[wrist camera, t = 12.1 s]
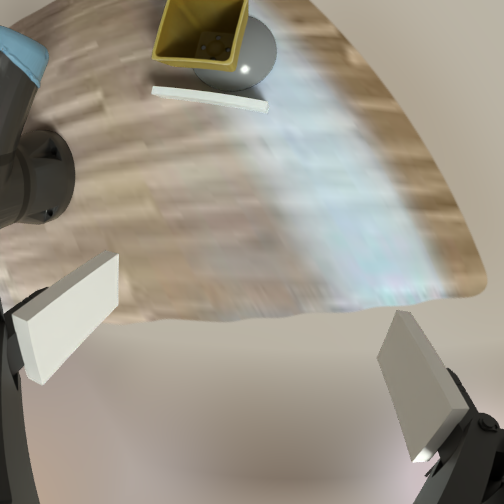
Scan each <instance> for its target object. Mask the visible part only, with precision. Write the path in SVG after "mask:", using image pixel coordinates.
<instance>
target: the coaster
mask: <svg viewBox="0 0 504 504" xmlns="http://www.w3.org/2000/svg"><path fill="white" fill-rule="evenodd" d="M220 38H221V37H220V36H217V37H216V39H217V40H219V39H220ZM201 48H202V49H203V50H204V49H205V48H206V47H205V46H202V47H201ZM226 51H227V52H229V51H230V49H229V48H227V49H226ZM276 55H277V48H276V42H275V39H274V36H273V34H272V33H271V31H270V30H269V29H268V28H267V27H266V25H264V24H263V23H262V22H260V21H259V20H257V19H255V18H252V17H249V16H248V21H247V24H246V28H245V32H244V36H243V40H242V44H241V48H240V53H239V57H238V62H237V67H236V70H235V71H234V72H226V71H219V70H211V69H200V68H193V70H194V71H195V73H196V75H197V76H198V77H199V78H200V79H201V80H202V81H203V82H205V83H206V84H207V85H209V86H211V87H213V88H216V89H218V90H223V91H240V90H244V89H247V88H250V87H252V86H254V85H256V84H258V83H259V82H261V81H262V80H263V79H264V78H265V77H266V76H267V75H268V74H269V73H270V71H271V70H272V68H273V66H274V63H275V60H276ZM211 60H215V58H212V59H211Z"/></svg>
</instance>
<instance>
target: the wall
mask: <svg viewBox="0 0 504 504" xmlns="http://www.w3.org/2000/svg"><path fill="white" fill-rule="evenodd" d="M151 94H153V95H156V96H159V97H162V98H168V99H177V100H186V101H194V102H201V103H208V104H215V105H222V106H228V107H234V108H240V109H245V110H251V111H256V112H261V113H266V114H268V110H269V104H268V102H267V101H262V100H256V99H251V98H245V97H239V96H233V95H227V94H220V93H213V92H206V91H198V90H190V89H180V88H170V87H158V86H153V89H152V93H151Z"/></svg>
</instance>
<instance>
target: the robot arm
mask: <svg viewBox="0 0 504 504" xmlns="http://www.w3.org/2000/svg"><path fill="white" fill-rule="evenodd" d="M48 60H49V53H48V51H47V49H46V48H45V47H44V46H43V45H42V44H40V43H38V42H37V41H35V40H33V39H31V38H29V37H27V36H25V35H23V34H21V33H19V32H16V31H14V30H12V29H9V28H7V27H4V26H0V229H1V228H4V227H6V226H8V225H11V224H13V223H26V224H44V223H47V222H49V221H52V220H54V219H56V218H58V217H59V216H60V215H61V214H62V213H63V212H64V211H65V210H66V208H67V207H68V205H69V203H70V200H71V198H72V195H73V191H74V185H75V167H74V162H73V158H72V154H71V152H70V150H69V147H68V146H67V144H66V143H65V141H64V140H63V139H62V138H61V137H60V136H59V135H58V134H56V133H54V132H52V131H48V130H36V131H31V132H28V133H26V134H24V135H22V136H21V133H22V130H23V127H24V124H25V121H26V119H27V116H28V113H29V110H30V108H31V105H32V102H33V100H34V97H35V95H36V92H37V90H38V88H40V81H41V79H42V76H43V73H44V71H45V68H46V66H47V63H48ZM118 261H119V254H118V253H114V252H110V251H106V250H105V251H103V252H102V253H100V254H99V255H97V256H96V257H94V258H92V259H91V260H89V261H88V262H86V263H85V264H83V265H82V266H80V267H79V268H77V269H76V270H74V271H73V272H71V273H70V274H68V275H67V276H65V277H64V278H62V279H61V280H59V281H58V282H56V283H55V284H53V285H52V286H50V287H46V288H43V289H40V290H37V291H35V292H34V293H33V294H31V295H30V296H29V297H27V298H25V299H24V300H22V302H20V303H18V304H17V305H15V306H14V307H13V308H11V309H10V310H8V311H7V312H6V313H4V314H3V309H2V304H1V298H0V504H40V502H39V498H38V494H37V490H36V486H35V482H34V478H33V473H32V468H31V463H30V458H29V452H28V446H27V439H26V432H25V425H24V416H23V406H22V393H21V378H20V375H19V370H20V369H21V368H22V367H23V366H24V367H25V370H26V374H27V377H28V378H29V379H31V380H33V381H35V382H37V383H39V384H41V385H44V384H45V383H46V382H47V380H48V379H49V378H50V377H51V376H52V375H53V374H54V372H55V371H56V370H57V369H58V368H59V367H60V366H61V365H62V364H63V363H64V361H65V360H66V359H67V358H68V357H69V356H70V355H71V354H72V353H73V352H74V351H75V350H76V349H77V347H78V346H79V345H80V344H81V343H82V342H83V341H84V340H85V339H86V338H87V337H88V336H89V335H90V334H91V333H92V332H93V330H94V329H95V328H96V327H97V326H98V325H99V324H100V323H101V322H102V321H103V320H104V319H105V318H106V317H107V316H108V315H109V314H110V313H111V312H112V311H113V310H114V309H115V308H116V307H117V306H118ZM377 359H378V362H379V365H380V368H381V370H382V373H383V376H384V379H385V382H386V384H387V387H388V390H389V393H390V396H391V398H392V402H393V405H394V407H395V410H396V414H397V417H398V420H399V423H400V426H401V429H402V432H403V435H404V438H405V442H406V445H407V448H408V451H409V455H410V458H411V461H412V462H424V461H429V460H430V459H431V458H432V457H433V456H434V454H435V453H436V452H437V451H438V453H439V456H440V459H439V460H438V462H437V463H436V464H435V465H434V466H433V467H432V468H431V469H430V470H429V471H428V472H427V473H426V475H425V476H426V477H427V476H428V475H429V474H430V475H429V477H428V479H427V480H426V482H425V484H424V486H423V488H422V489H421V491H420V493H419V494H418V496H417V498H416V500H415V501H414V503H413V504H504V429H500V427H499V424H498V422H497V421H496V420H495V419H494V418H493V417H491V416H490V415H488V414H485V413H479V412H478V411H477V409H476V407H475V405H474V404H473V402H472V400H471V399H470V397H469V395H468V393H467V392H466V390H465V388H464V387H463V386H462V383H461V382H460V380H459V378H458V377H457V375H456V374H455V373H453V372H452V371H451V370H450V369H449V368H446V367H445V366H444V364H443V362H442V360H441V359H440V357H439V356H438V354H437V353H436V351H435V349H434V348H433V346H432V345H431V343H430V341H429V340H428V338H427V337H426V335H425V334H424V332H423V331H422V329H421V327H420V326H419V324H418V323H417V321H416V320H415V319H414V317H413V315H412V314H411V312H406V311H400V310H397V311H396V313H395V316H394V318H393V321H392V323H391V326H390V328H389V330H388V333H387V335H386V338H385V340H384V342H383V345H382V347H381V349H380V351H379V354H378V356H377Z"/></svg>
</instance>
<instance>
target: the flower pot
mask: <svg viewBox="0 0 504 504" xmlns="http://www.w3.org/2000/svg"><path fill="white" fill-rule="evenodd" d="M247 21H248V0H167V2H166V5H165V8H164V12H163V15H162V18H161V21H160V25H159V29H158V32H157V36H156V40H155V43H154V47H153V51H152V59H153V60H156V61H159V62H162V63H165V64H167V65H170V66H174V67H186V68H200V69H211V70H219V71H226V72H234V71H235V70H236V67H237V62H238V57H239V53H240V48H241V44H242V40H243V36H244V32H245V28H246V24H247ZM217 36H220V37H221V38H220V39H219V40H217V39H216V37H217ZM202 46H205V47H206V48H205V49H204V50H203V49H202V48H201V47H202ZM227 48H229V49H230V51H229V52H227V51H226V49H227ZM212 58H215V60H211V59H212Z"/></svg>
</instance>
